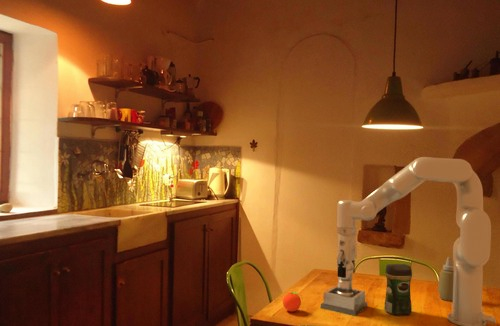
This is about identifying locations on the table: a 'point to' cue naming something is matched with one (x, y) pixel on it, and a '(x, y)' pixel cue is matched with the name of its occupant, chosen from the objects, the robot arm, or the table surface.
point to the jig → (344, 301)
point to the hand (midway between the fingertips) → (346, 274)
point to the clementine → (291, 302)
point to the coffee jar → (398, 289)
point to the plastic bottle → (346, 281)
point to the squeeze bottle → (446, 281)
